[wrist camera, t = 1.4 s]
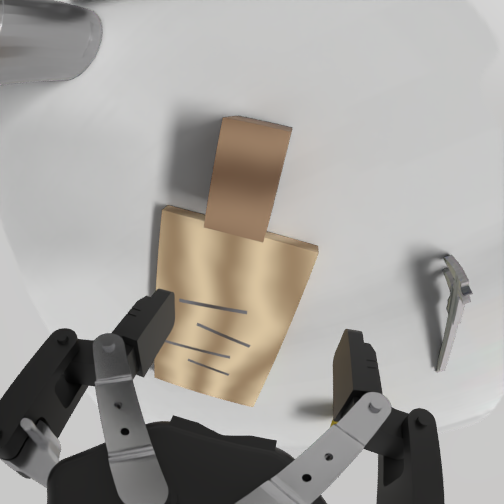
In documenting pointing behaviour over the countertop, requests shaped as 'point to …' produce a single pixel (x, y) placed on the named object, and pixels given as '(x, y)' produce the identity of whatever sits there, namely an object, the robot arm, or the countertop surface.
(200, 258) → the plywood board
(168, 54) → the countertop surface
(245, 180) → the block
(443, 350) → the caliper
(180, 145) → the countertop surface
